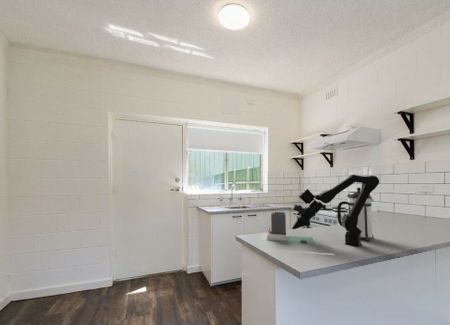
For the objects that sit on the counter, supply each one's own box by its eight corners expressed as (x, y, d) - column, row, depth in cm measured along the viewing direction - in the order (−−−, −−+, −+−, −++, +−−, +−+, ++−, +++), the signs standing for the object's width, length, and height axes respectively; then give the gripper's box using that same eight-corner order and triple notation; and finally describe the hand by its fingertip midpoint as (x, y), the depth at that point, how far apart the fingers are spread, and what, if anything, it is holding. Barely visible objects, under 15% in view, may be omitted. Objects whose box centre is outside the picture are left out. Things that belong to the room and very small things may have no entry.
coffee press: (366, 234, 143) (364, 186, 144) (381, 241, 127) (378, 188, 129) (337, 233, 144) (336, 186, 146) (348, 240, 128) (346, 188, 130)
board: (312, 238, 133) (312, 227, 134) (315, 245, 120) (315, 233, 120) (267, 235, 140) (267, 225, 140) (266, 242, 126) (266, 230, 126)
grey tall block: (285, 237, 133) (285, 211, 134) (285, 239, 128) (285, 213, 129) (271, 236, 135) (271, 211, 136) (271, 238, 130) (271, 212, 131)
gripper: (300, 198, 138) (282, 215, 140) (302, 201, 120) (282, 221, 122) (314, 211, 136) (295, 229, 138) (319, 216, 118) (298, 237, 120)
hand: (292, 228), depth 130 cm, fingers closed
